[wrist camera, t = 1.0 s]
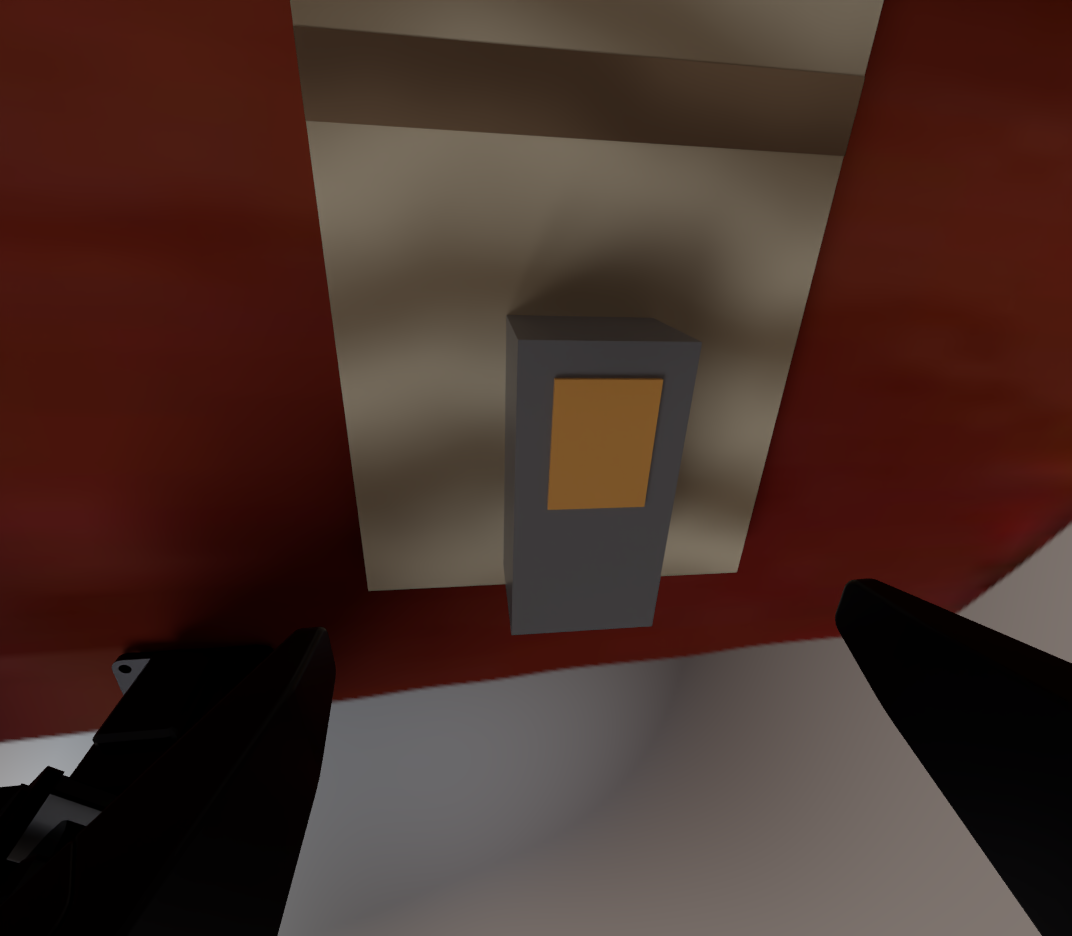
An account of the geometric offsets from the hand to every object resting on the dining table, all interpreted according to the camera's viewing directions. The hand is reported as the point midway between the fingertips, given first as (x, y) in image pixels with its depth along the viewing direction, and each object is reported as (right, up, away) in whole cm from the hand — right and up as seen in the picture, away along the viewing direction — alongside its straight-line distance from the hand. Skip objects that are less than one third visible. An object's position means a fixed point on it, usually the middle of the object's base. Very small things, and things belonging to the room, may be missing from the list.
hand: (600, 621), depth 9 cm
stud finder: (0, +3, +10) cm, 11 cm away
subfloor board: (0, +8, +10) cm, 13 cm away
